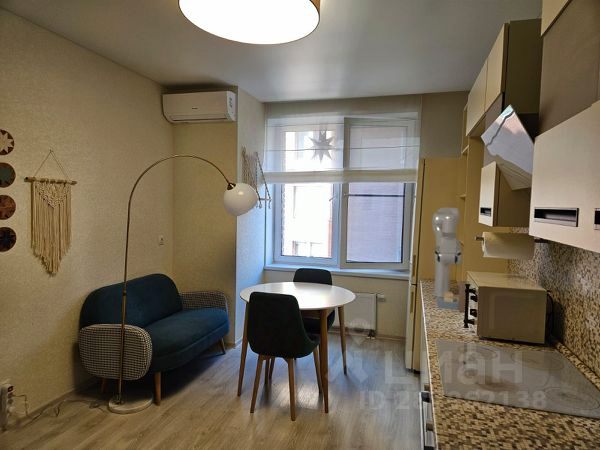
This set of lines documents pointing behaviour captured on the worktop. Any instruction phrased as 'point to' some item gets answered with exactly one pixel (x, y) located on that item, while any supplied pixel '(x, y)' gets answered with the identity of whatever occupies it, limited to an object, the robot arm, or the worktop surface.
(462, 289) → the wooden block
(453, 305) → the slate base block
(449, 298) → the oak cube
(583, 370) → the worktop surface
